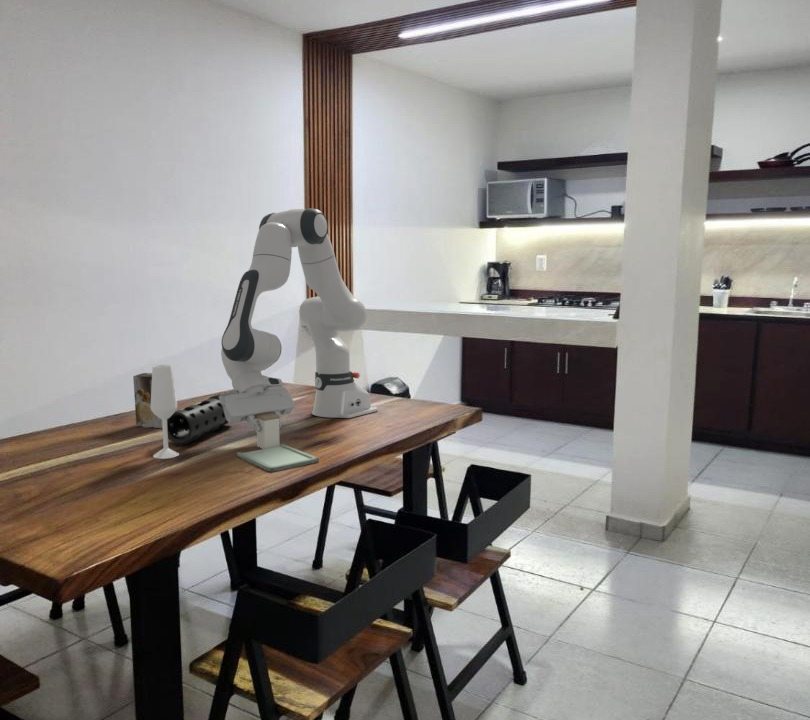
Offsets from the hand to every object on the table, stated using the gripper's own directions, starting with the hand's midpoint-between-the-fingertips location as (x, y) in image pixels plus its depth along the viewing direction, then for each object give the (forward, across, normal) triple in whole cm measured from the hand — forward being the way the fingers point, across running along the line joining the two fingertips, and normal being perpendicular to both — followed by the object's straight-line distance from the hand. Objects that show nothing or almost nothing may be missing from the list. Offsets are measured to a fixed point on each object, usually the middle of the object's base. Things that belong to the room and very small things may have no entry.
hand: (269, 429), depth 200 cm
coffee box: (-28, -15, +36) cm, 48 cm away
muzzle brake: (-13, -8, +21) cm, 27 cm away
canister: (+3, 0, +4) cm, 5 cm away
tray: (+12, -4, -4) cm, 13 cm away
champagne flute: (-4, -25, +11) cm, 28 cm away
